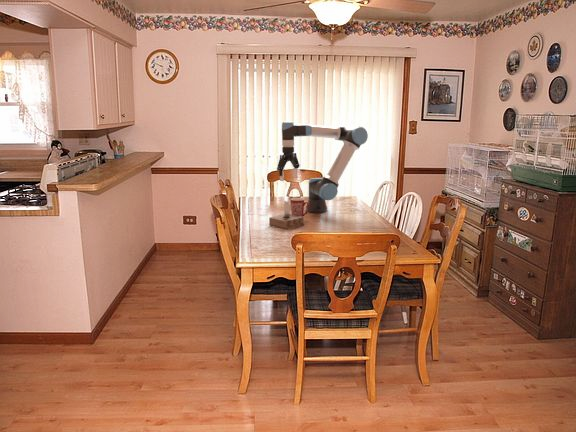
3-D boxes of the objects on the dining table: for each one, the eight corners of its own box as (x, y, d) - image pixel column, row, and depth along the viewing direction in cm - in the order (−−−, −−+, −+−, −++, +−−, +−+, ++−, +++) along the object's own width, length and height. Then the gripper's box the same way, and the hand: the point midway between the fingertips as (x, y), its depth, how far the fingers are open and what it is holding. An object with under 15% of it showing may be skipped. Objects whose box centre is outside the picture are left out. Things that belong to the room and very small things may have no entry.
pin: (286, 222, 293) (286, 200, 290) (290, 223, 291) (290, 201, 288) (282, 223, 291) (283, 201, 288) (286, 224, 289) (287, 202, 286)
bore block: (287, 221, 302) (287, 213, 301) (303, 225, 292) (303, 217, 291) (269, 225, 290) (269, 217, 289) (286, 229, 281) (286, 221, 280)
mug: (288, 220, 303) (289, 199, 300) (292, 217, 312) (292, 197, 309) (308, 221, 300) (308, 201, 297) (310, 218, 309) (311, 198, 306)
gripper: (295, 144, 313) (296, 176, 318) (270, 147, 294) (271, 181, 299) (304, 145, 308) (305, 177, 313) (279, 148, 290) (280, 182, 295)
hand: (288, 179), depth 306 cm, fingers open, 13 cm apart
